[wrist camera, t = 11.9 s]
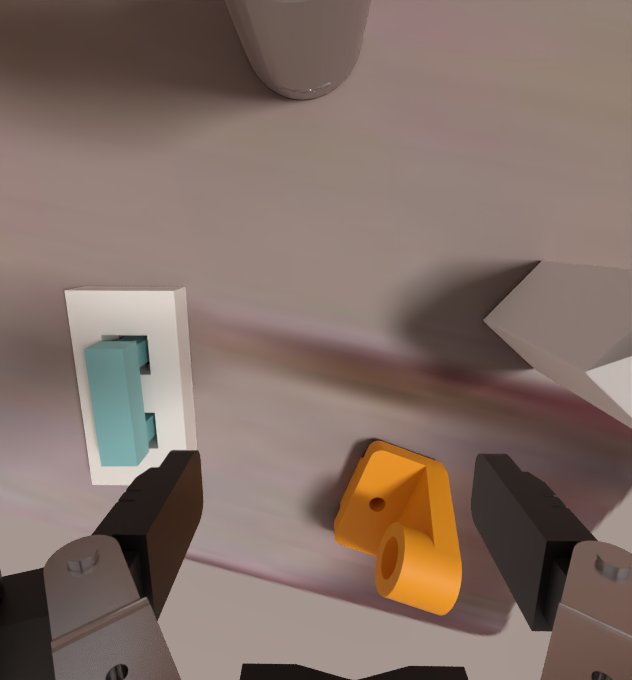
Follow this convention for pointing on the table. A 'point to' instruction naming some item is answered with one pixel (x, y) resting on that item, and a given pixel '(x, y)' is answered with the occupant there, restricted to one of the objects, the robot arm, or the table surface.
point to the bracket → (403, 526)
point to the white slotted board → (156, 378)
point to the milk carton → (574, 330)
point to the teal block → (119, 400)
